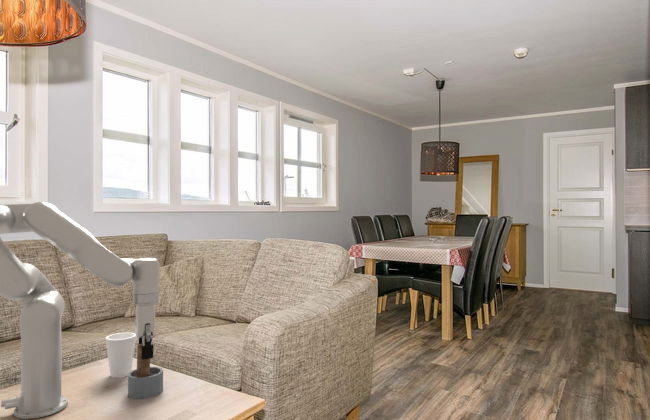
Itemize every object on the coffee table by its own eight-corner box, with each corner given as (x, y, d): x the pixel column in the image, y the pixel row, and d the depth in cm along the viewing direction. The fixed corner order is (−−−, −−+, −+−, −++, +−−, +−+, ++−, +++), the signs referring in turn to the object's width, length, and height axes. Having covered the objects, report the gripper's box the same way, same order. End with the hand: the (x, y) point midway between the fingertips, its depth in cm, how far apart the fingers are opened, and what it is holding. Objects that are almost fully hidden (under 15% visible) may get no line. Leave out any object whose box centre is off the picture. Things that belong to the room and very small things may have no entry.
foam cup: (141, 372, 149) (141, 335, 149) (116, 381, 141) (116, 341, 141) (125, 367, 154) (125, 331, 154) (99, 375, 146) (99, 337, 146)
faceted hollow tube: (129, 401, 126) (129, 380, 126) (127, 389, 135) (127, 369, 135) (164, 394, 131) (164, 374, 131) (160, 383, 139) (160, 364, 139)
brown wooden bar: (136, 392, 130) (138, 346, 131) (136, 389, 132) (137, 344, 133) (149, 390, 132) (150, 344, 132) (148, 388, 134) (149, 342, 134)
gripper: (130, 294, 139) (130, 348, 139) (134, 304, 124) (134, 364, 123) (155, 292, 142) (155, 344, 142) (162, 302, 127) (162, 360, 127)
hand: (145, 354), depth 133 cm, fingers open, 9 cm apart
